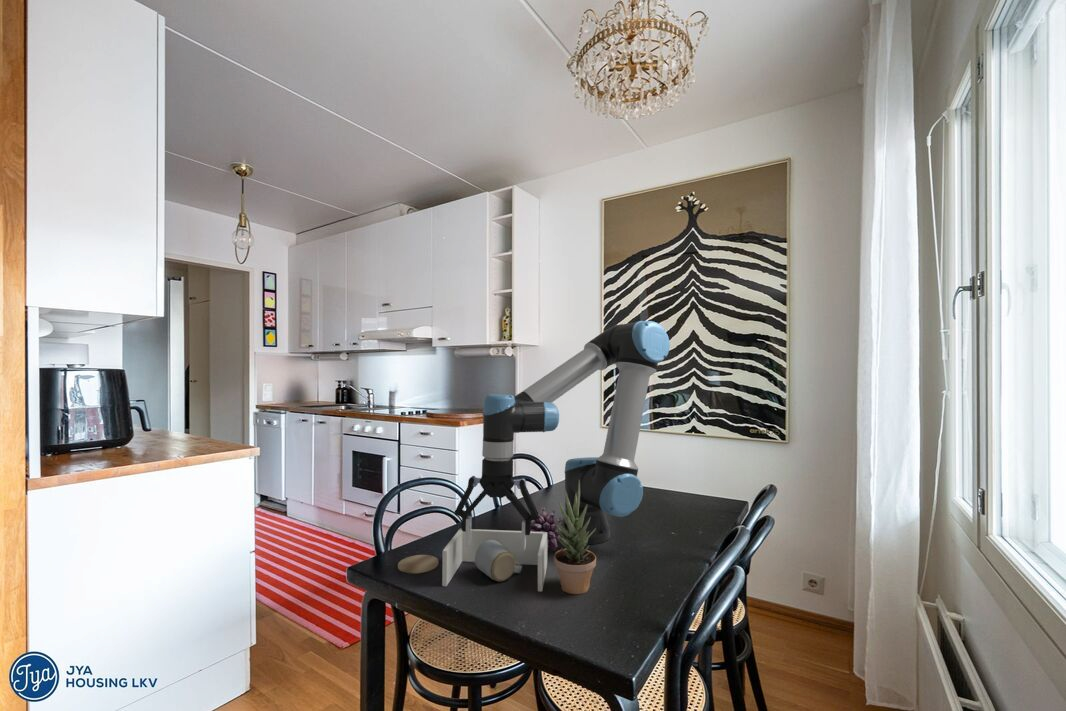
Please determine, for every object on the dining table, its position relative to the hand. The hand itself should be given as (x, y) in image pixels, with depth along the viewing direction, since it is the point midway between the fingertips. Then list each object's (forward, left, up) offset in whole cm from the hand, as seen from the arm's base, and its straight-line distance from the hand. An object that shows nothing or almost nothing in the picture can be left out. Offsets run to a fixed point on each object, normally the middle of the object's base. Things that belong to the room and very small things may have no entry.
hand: (495, 546), depth 112 cm
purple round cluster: (-10, -16, -7) cm, 20 cm away
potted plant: (-19, +4, -7) cm, 21 cm away
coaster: (+21, -4, -7) cm, 22 cm away
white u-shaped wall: (0, -1, -7) cm, 7 cm away
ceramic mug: (-1, -1, -7) cm, 7 cm away
